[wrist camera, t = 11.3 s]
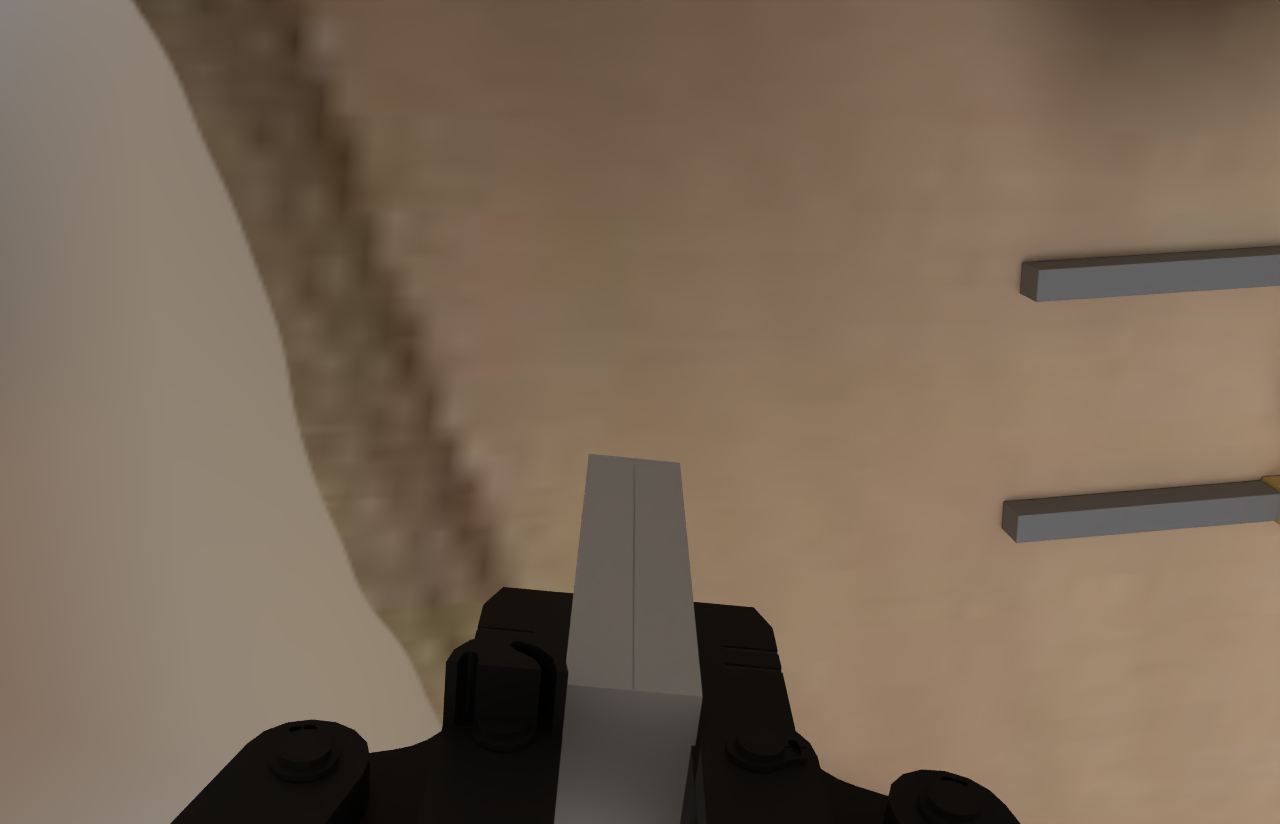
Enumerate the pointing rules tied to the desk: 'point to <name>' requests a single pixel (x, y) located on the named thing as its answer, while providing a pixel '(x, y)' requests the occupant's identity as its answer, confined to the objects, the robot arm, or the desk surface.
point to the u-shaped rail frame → (1153, 506)
